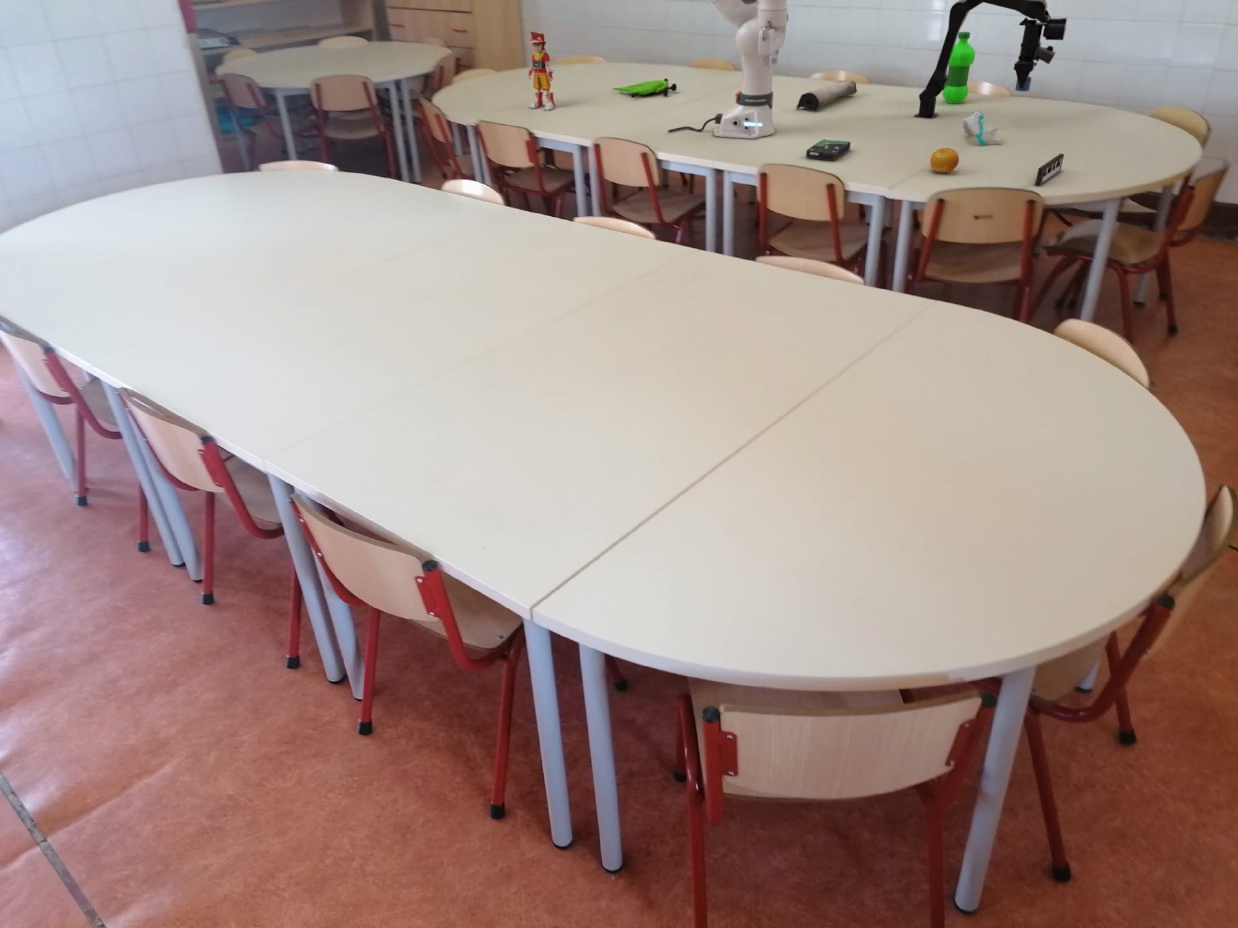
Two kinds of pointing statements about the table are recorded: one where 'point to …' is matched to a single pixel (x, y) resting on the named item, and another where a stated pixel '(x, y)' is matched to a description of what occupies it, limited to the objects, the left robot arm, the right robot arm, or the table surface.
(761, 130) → the left robot arm
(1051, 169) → the midi keyboard
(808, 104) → the rolled mat
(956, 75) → the plastic bottle
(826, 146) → the disk drive
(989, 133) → the anatomical model
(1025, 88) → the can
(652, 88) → the toy
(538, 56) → the toy
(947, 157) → the fruit
